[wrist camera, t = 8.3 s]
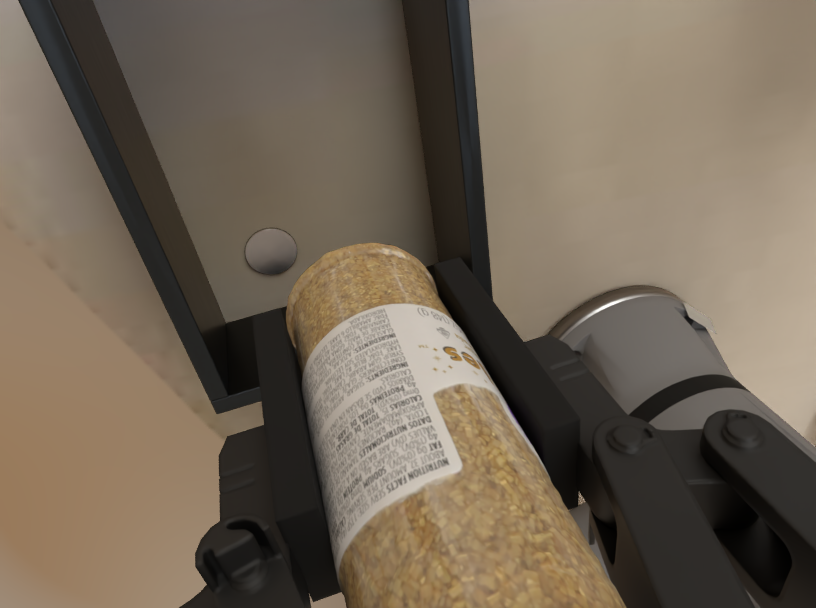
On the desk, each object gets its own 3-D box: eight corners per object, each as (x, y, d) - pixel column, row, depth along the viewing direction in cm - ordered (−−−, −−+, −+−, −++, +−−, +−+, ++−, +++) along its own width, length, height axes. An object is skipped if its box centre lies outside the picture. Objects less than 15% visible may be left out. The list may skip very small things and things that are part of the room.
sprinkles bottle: (458, 310, 19) (807, 856, 8) (340, 389, 19) (517, 1015, 8) (382, 203, 16) (756, 807, 5) (246, 298, 16) (325, 1047, 5)
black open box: (454, 271, 39) (495, 330, 34) (215, 339, 37) (216, 415, 31) (404, -136, 27) (457, -151, 21) (36, -70, 24) (-15, -67, 19)
